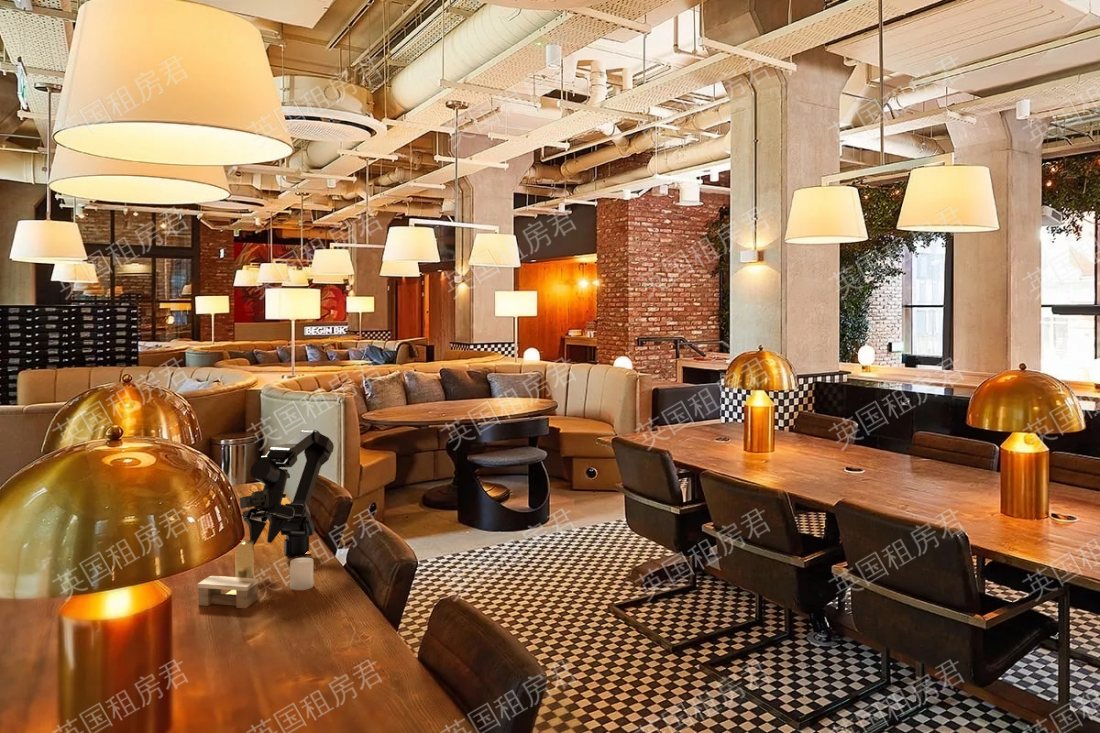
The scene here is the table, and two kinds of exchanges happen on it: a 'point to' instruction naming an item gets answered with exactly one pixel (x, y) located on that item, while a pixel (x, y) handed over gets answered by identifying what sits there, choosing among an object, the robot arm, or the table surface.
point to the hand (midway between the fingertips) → (260, 543)
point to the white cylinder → (301, 573)
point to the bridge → (214, 584)
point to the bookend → (244, 561)
